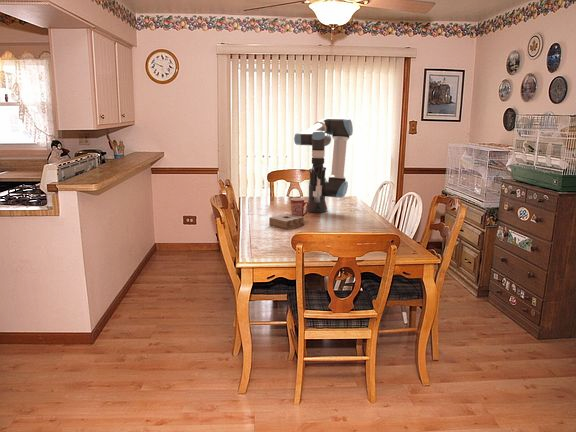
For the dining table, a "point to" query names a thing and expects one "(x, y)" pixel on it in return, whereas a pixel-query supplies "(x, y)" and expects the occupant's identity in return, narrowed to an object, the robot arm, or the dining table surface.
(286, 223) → the bore block
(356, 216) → the dining table surface
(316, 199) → the pin
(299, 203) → the mug
